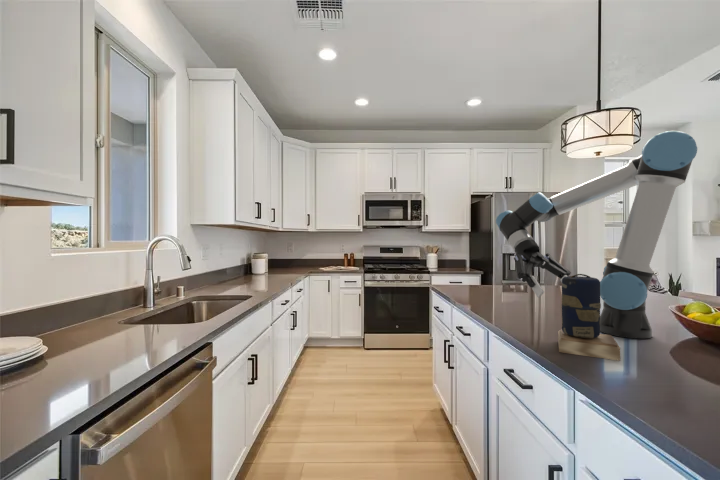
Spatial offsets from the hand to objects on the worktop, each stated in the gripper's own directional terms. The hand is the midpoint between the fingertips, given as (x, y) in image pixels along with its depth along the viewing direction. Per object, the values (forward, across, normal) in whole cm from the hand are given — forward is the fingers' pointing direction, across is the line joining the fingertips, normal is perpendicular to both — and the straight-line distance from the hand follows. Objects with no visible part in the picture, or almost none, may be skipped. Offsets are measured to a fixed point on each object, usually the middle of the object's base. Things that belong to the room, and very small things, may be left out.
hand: (558, 294), depth 110 cm
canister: (+14, +1, -1) cm, 14 cm away
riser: (+17, 0, -3) cm, 18 cm away
